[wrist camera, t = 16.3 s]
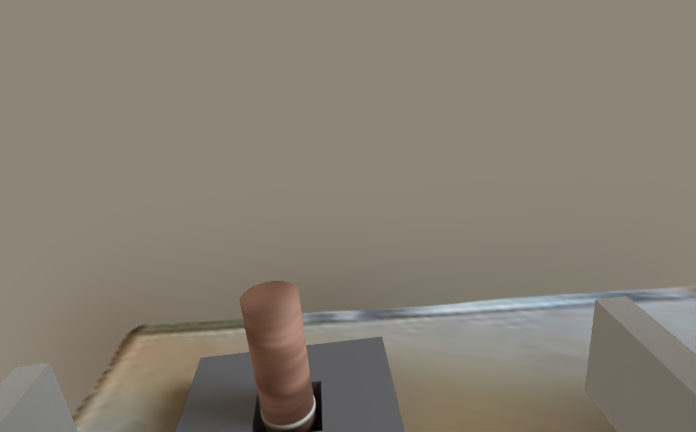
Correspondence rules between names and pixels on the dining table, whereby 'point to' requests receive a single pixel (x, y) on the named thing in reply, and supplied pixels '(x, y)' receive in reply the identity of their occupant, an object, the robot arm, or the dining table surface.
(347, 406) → the board
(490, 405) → the dining table surface
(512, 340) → the dining table surface
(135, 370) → the dining table surface
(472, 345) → the dining table surface
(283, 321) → the peg
